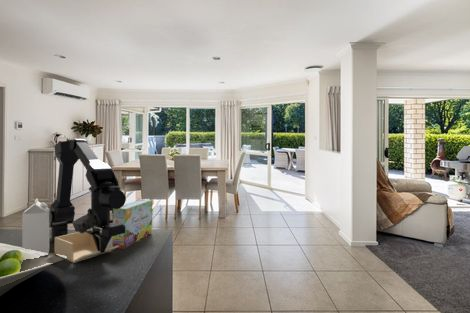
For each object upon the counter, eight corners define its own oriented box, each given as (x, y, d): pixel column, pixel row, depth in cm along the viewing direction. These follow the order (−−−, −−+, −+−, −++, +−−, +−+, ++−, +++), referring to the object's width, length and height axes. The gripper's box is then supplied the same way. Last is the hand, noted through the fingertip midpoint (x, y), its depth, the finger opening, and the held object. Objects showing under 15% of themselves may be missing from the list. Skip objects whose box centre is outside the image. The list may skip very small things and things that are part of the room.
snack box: (125, 249, 111) (125, 208, 110) (111, 248, 112) (111, 207, 111) (152, 233, 132) (152, 198, 131) (140, 232, 133) (141, 198, 132)
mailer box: (54, 254, 104) (54, 237, 104) (90, 244, 115) (90, 229, 115) (71, 262, 98) (71, 243, 98) (108, 251, 109) (108, 234, 109)
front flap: (72, 261, 98) (82, 256, 95) (109, 250, 108) (118, 245, 105) (73, 263, 97) (82, 257, 94) (109, 251, 108) (119, 246, 105)
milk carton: (22, 259, 99) (21, 202, 99) (25, 252, 106) (25, 198, 105) (47, 256, 103) (47, 200, 102) (49, 249, 109) (49, 197, 108)
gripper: (60, 205, 98) (61, 253, 99) (93, 212, 88) (94, 266, 88) (93, 201, 107) (93, 244, 108) (126, 206, 97) (126, 255, 97)
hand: (101, 252), depth 100 cm, fingers closed
